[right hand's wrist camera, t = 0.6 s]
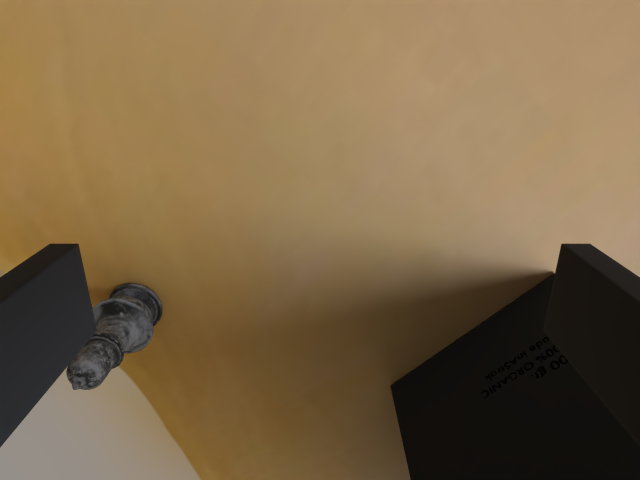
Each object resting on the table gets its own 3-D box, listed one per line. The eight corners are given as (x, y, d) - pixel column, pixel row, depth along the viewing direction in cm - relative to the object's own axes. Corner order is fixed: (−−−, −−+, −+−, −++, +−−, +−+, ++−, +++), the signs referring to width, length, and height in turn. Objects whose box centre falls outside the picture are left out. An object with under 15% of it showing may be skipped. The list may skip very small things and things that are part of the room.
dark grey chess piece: (139, 342, 46) (81, 432, 35) (93, 305, 44) (17, 386, 33) (177, 309, 45) (130, 391, 33) (131, 269, 43) (65, 342, 32)
